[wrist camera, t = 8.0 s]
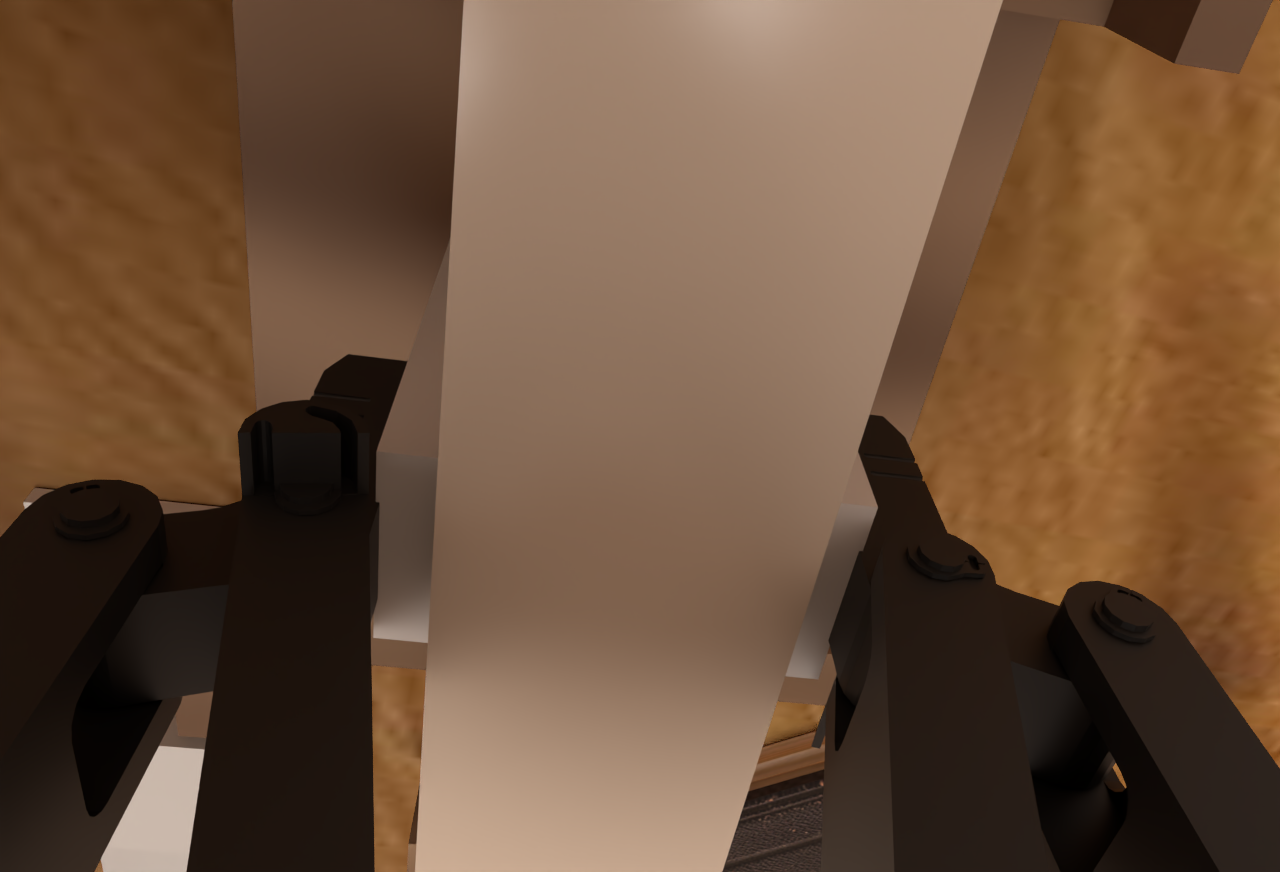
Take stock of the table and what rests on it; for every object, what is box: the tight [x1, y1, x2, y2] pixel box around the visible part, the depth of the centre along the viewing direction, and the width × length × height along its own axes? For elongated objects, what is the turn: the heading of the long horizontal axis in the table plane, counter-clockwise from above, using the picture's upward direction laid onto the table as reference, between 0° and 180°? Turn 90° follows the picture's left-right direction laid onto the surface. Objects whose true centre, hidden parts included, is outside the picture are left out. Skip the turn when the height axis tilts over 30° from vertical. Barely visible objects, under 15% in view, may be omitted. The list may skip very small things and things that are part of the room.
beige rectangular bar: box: [415, 0, 1003, 872], centre depth 13 cm, size 17×4×4 cm, turn 171°
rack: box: [175, 0, 1273, 872], centre depth 17 cm, size 21×13×6 cm, turn 171°
